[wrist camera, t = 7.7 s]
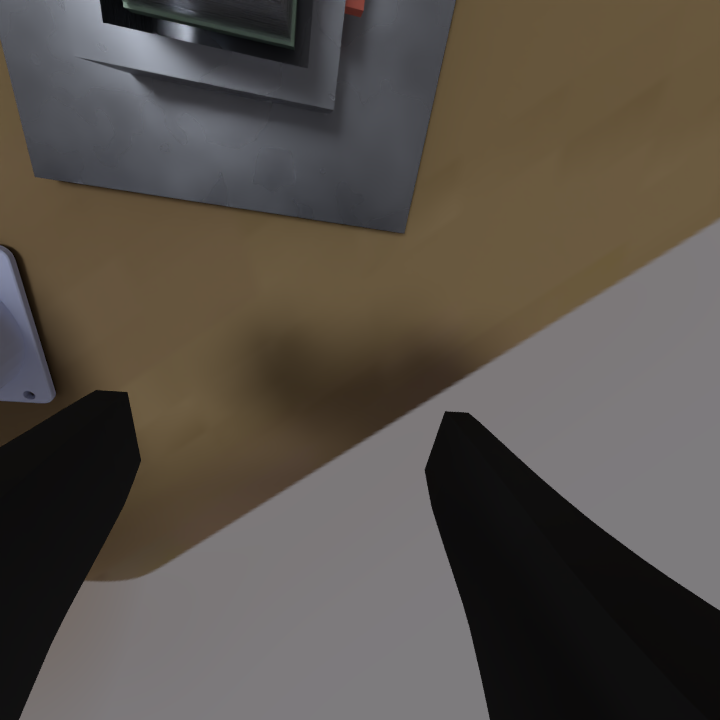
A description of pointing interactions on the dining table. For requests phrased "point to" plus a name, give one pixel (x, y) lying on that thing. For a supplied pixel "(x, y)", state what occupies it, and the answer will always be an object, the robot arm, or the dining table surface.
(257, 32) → the stand column
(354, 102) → the stand base
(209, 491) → the dining table surface
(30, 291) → the dining table surface
